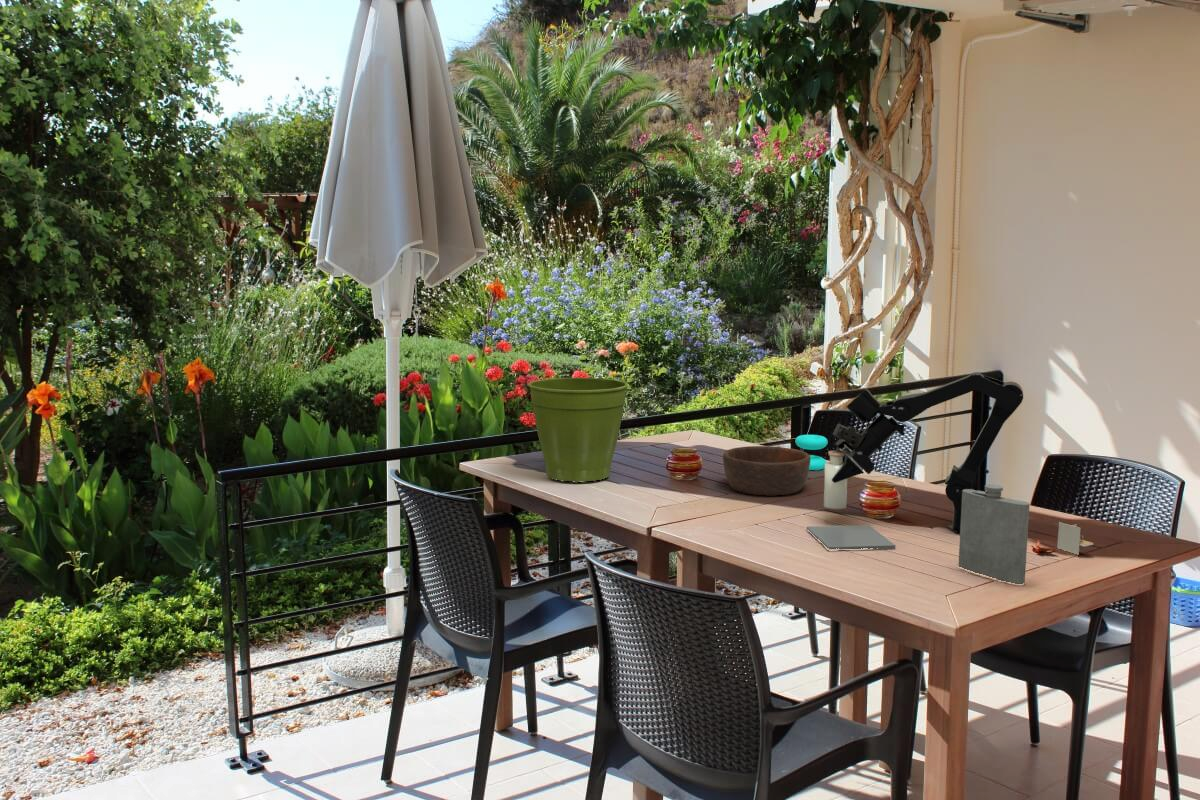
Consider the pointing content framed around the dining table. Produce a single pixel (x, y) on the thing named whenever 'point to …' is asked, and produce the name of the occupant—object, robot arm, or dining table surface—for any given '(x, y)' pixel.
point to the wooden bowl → (766, 470)
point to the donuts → (813, 444)
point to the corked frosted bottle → (834, 491)
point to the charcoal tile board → (850, 537)
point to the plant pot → (578, 425)
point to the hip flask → (993, 534)
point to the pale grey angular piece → (1070, 538)
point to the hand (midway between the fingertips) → (830, 478)
